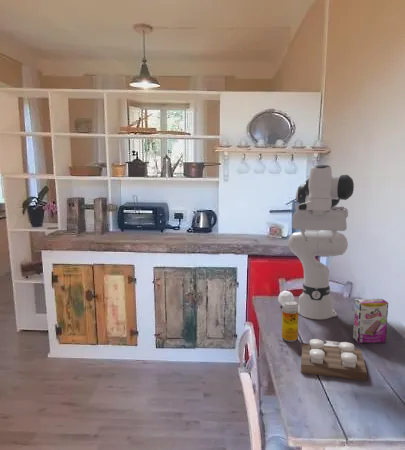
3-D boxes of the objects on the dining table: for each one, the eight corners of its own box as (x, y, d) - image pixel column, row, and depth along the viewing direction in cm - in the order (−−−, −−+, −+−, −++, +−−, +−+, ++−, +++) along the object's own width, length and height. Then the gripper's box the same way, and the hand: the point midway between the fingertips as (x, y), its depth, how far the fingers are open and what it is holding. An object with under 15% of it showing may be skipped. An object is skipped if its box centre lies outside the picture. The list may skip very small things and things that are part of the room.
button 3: (309, 359, 128) (309, 348, 127) (324, 360, 126) (324, 349, 126) (309, 366, 123) (309, 354, 123) (324, 368, 122) (324, 356, 121)
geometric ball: (290, 311, 184) (297, 302, 179) (275, 306, 184) (282, 297, 179) (289, 300, 190) (297, 290, 185) (275, 295, 190) (282, 285, 185)
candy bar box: (358, 344, 142) (359, 303, 140) (352, 338, 147) (354, 298, 145) (386, 343, 143) (389, 302, 141) (380, 337, 148) (382, 297, 146)
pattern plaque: (317, 341, 145) (317, 339, 145) (341, 343, 143) (341, 341, 143) (317, 349, 139) (317, 347, 139) (343, 352, 136) (343, 350, 136)
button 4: (340, 362, 125) (340, 351, 124) (355, 364, 124) (356, 353, 123) (341, 370, 120) (341, 358, 120) (357, 372, 119) (357, 360, 119)
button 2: (338, 352, 133) (339, 341, 132) (353, 353, 131) (353, 342, 131) (339, 358, 128) (340, 347, 127) (354, 360, 127) (355, 349, 126)
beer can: (286, 343, 144) (287, 306, 142) (279, 336, 150) (279, 301, 148) (300, 341, 146) (301, 304, 144) (292, 334, 152) (293, 299, 150)
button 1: (309, 348, 135) (309, 338, 135) (323, 350, 134) (323, 339, 134) (309, 354, 131) (309, 344, 130) (323, 356, 129) (324, 345, 129)
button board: (302, 350, 138) (302, 343, 137) (360, 357, 132) (360, 349, 132) (300, 372, 123) (301, 364, 122) (366, 381, 117) (366, 372, 117)
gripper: (348, 206, 143) (347, 242, 143) (294, 206, 151) (293, 240, 152) (347, 206, 137) (346, 243, 138) (291, 205, 146) (290, 241, 146)
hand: (318, 241), depth 145 cm, fingers open, 8 cm apart
